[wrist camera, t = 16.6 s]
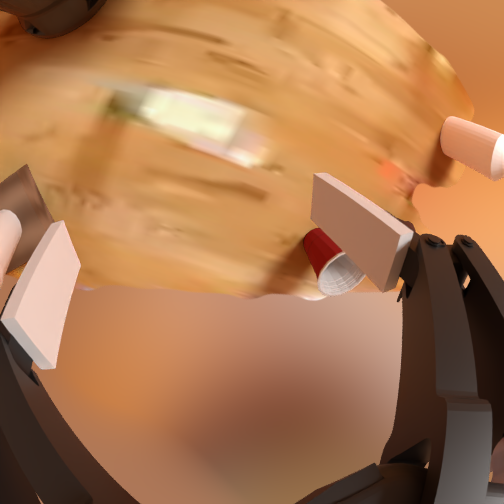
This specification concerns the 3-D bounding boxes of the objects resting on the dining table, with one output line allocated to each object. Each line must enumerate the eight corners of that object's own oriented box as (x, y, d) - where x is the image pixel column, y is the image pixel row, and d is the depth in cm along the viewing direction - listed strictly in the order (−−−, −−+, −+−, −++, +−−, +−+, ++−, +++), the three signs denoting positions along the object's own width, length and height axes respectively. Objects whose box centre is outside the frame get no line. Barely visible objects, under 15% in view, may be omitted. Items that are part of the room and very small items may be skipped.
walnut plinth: (-21, 200, 27) (-32, 210, 24) (27, 163, 29) (16, 171, 26) (13, 261, 36) (5, 274, 33) (61, 234, 37) (55, 247, 34)
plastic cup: (280, 249, 53) (307, 288, 44) (315, 207, 50) (351, 239, 41) (313, 269, 59) (340, 305, 50) (345, 232, 56) (378, 264, 47)
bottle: (461, 113, 47) (537, 146, 28) (460, 153, 55) (529, 191, 35) (439, 116, 46) (525, 153, 27) (439, 160, 54) (516, 204, 34)
